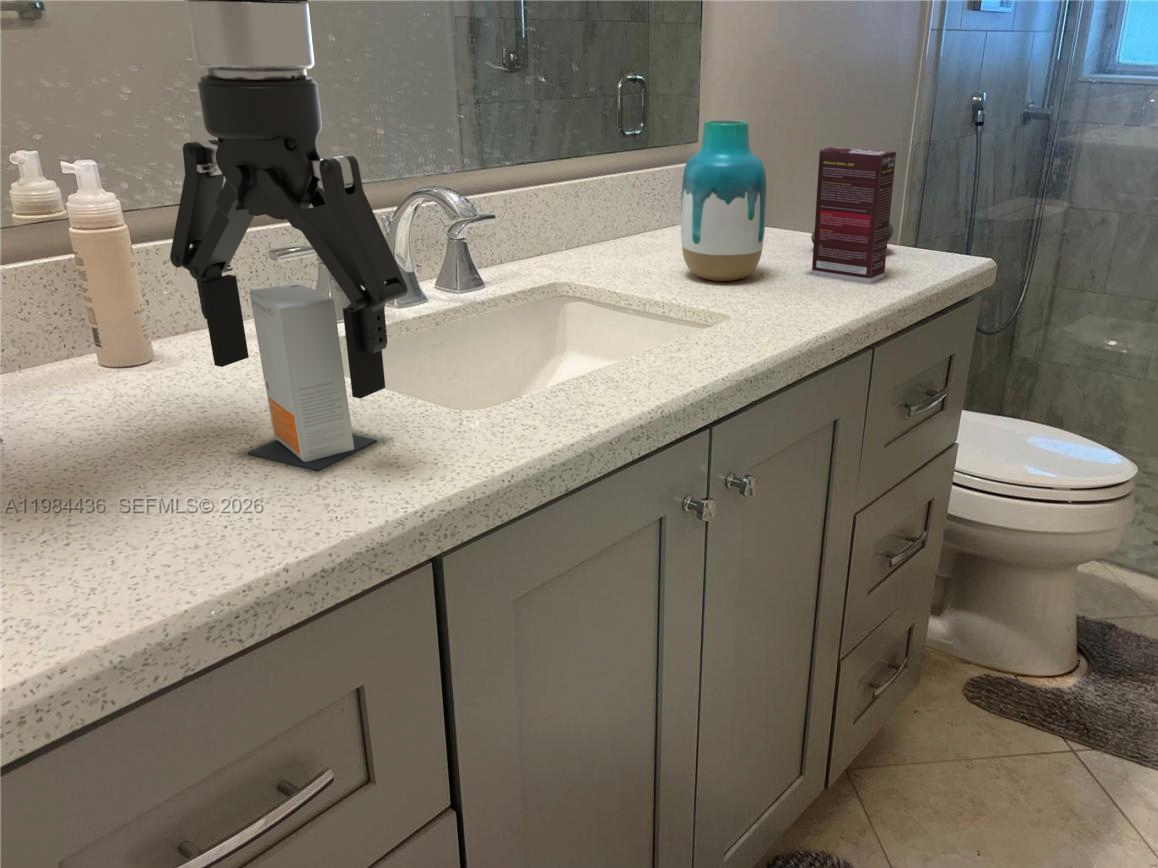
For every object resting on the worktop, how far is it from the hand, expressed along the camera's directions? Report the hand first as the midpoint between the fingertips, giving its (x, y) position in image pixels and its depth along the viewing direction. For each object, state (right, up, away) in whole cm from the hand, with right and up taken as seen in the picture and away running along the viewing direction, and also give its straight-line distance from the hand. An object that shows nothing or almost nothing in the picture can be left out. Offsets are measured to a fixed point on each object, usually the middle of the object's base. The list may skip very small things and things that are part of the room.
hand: (298, 377), depth 78 cm
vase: (+34, +19, +55) cm, 68 cm away
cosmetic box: (0, -5, +2) cm, 6 cm away
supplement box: (+51, +20, +57) cm, 79 cm away
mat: (0, -6, +3) cm, 6 cm away
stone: (+53, +26, +70) cm, 92 cm away
